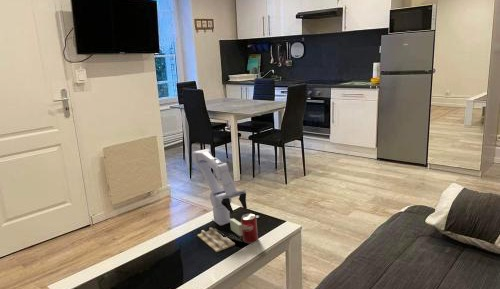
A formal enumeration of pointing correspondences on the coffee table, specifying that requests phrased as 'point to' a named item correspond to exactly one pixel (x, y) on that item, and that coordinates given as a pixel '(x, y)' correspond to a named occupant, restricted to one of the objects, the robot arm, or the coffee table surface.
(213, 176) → the robot arm
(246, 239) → the soda can
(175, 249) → the coffee table surface
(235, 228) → the door panel
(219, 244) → the door track
